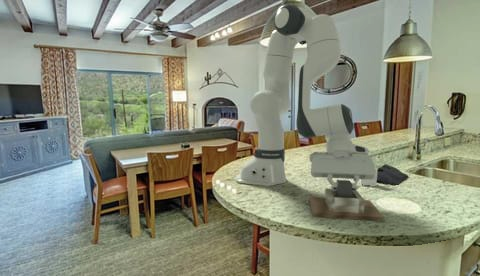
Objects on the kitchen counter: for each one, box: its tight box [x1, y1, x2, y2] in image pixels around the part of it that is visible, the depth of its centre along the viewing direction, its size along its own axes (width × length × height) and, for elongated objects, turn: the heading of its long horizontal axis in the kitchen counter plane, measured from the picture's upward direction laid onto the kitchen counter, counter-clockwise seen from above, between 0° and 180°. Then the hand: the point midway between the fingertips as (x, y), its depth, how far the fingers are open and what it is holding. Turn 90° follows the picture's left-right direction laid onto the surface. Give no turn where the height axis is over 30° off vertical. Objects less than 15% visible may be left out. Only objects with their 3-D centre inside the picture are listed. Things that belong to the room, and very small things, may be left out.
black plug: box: [336, 179, 353, 198], centre depth 88 cm, size 4×4×8 cm
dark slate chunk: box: [377, 163, 409, 186], centre depth 125 cm, size 15×22×5 cm
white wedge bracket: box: [360, 167, 378, 187], centre depth 114 cm, size 4×10×9 cm
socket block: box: [308, 187, 385, 222], centre depth 88 cm, size 20×14×5 cm
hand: (344, 189), depth 87 cm, fingers open, 5 cm apart
